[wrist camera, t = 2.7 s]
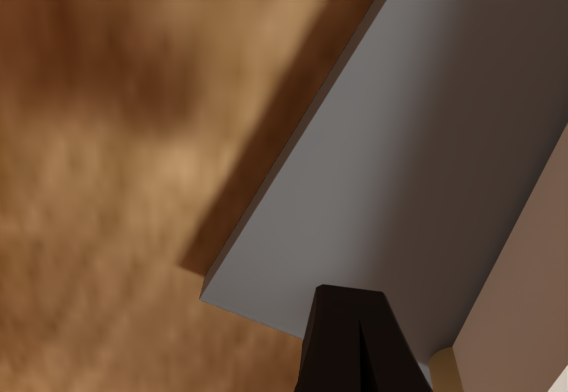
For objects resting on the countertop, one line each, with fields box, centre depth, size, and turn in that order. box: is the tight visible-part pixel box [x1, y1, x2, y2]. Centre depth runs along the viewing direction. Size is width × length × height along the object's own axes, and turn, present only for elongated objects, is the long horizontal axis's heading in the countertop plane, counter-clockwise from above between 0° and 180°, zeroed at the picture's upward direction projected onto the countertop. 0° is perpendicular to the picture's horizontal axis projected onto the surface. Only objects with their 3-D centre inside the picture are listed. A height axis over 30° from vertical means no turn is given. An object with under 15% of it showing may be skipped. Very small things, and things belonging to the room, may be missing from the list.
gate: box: [428, 123, 568, 392], centre depth 12 cm, size 13×2×4 cm, turn 173°
